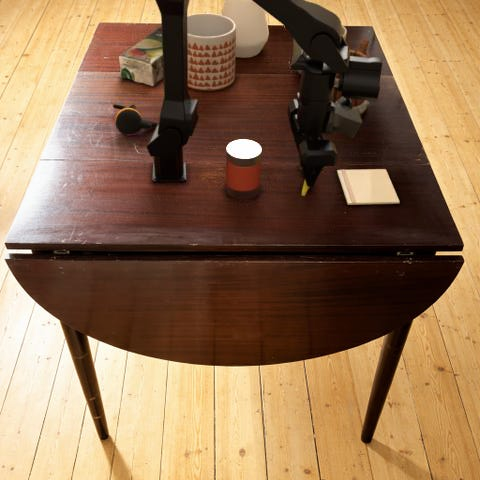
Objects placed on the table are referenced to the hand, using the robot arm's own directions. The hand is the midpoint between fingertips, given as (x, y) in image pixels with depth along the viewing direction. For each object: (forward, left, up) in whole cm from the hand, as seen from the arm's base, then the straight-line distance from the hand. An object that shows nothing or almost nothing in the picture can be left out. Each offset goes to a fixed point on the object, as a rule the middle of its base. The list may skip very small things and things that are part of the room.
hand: (306, 171), depth 116 cm
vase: (+46, +17, -4) cm, 49 cm away
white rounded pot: (+62, +7, -4) cm, 63 cm away
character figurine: (+24, +34, -4) cm, 42 cm away
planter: (+48, -10, -4) cm, 49 cm away
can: (0, +12, -4) cm, 13 cm away
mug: (+32, -14, -4) cm, 35 cm away
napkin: (0, -12, -4) cm, 13 cm away
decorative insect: (+1, 0, -4) cm, 4 cm away
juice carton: (+52, +29, -4) cm, 60 cm away
